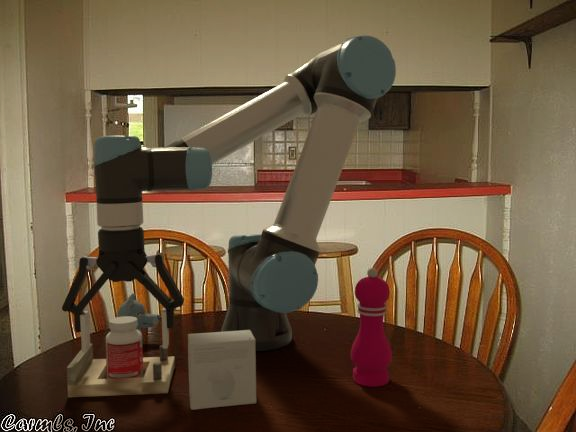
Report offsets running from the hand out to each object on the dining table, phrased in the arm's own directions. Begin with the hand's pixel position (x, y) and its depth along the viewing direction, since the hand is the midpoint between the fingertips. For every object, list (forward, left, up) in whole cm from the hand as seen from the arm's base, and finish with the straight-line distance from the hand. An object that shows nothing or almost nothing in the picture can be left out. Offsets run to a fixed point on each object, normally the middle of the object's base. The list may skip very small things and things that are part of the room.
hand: (126, 348), depth 97 cm
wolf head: (+1, -22, -6) cm, 23 cm away
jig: (0, 0, -6) cm, 6 cm away
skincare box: (-17, +9, -6) cm, 20 cm away
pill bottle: (0, 0, -6) cm, 6 cm away
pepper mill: (-43, +4, -6) cm, 43 cm away
